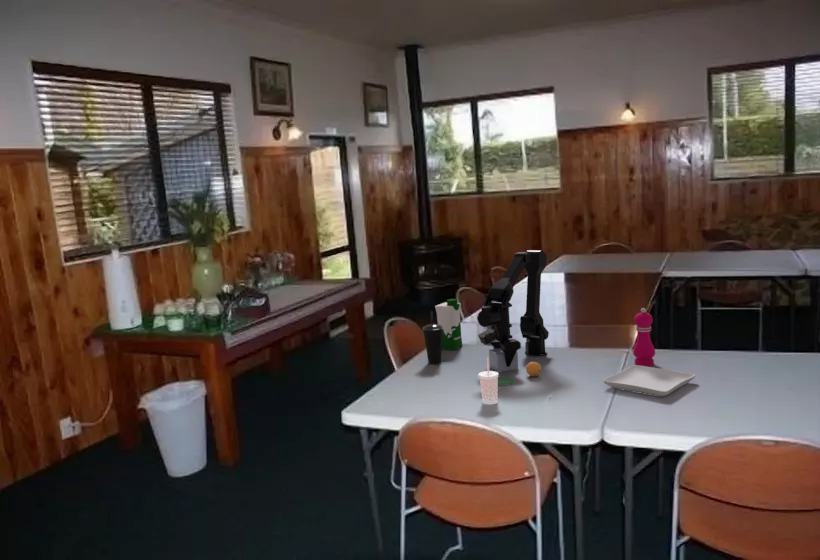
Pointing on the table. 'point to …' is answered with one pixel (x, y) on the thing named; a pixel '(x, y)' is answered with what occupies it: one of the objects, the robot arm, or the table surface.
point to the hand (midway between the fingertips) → (503, 363)
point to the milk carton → (450, 323)
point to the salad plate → (648, 380)
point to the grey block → (501, 361)
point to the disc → (505, 381)
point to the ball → (533, 369)
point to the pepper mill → (643, 340)
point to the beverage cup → (489, 386)
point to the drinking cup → (433, 341)
